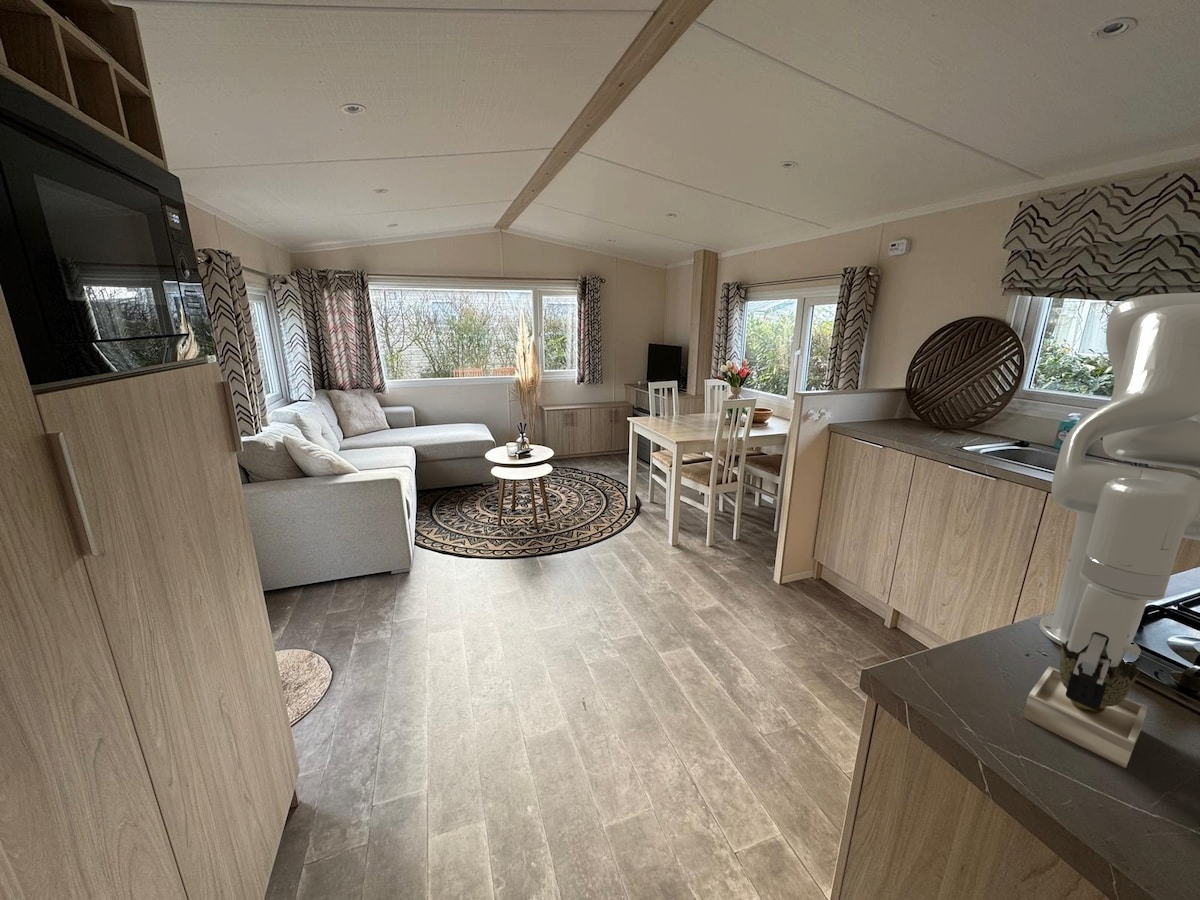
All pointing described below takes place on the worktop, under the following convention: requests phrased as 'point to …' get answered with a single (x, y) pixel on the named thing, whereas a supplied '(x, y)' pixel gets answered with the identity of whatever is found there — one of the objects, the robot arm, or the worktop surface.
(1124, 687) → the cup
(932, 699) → the worktop surface
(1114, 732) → the birch tray
